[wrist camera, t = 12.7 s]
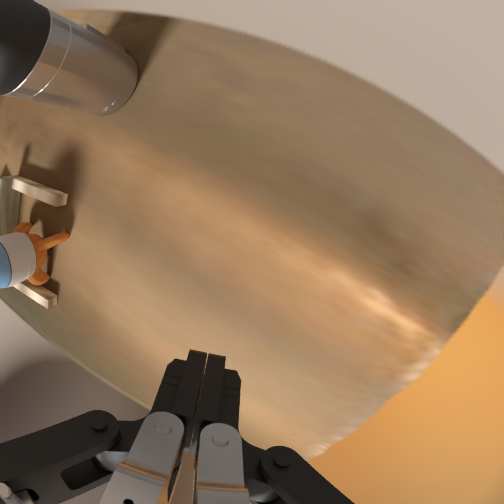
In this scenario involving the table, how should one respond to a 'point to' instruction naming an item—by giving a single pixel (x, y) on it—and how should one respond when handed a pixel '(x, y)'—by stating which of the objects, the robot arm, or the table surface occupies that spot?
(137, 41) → the table surface
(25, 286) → the cradle
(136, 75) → the robot arm
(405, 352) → the table surface
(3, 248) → the toy rocket
